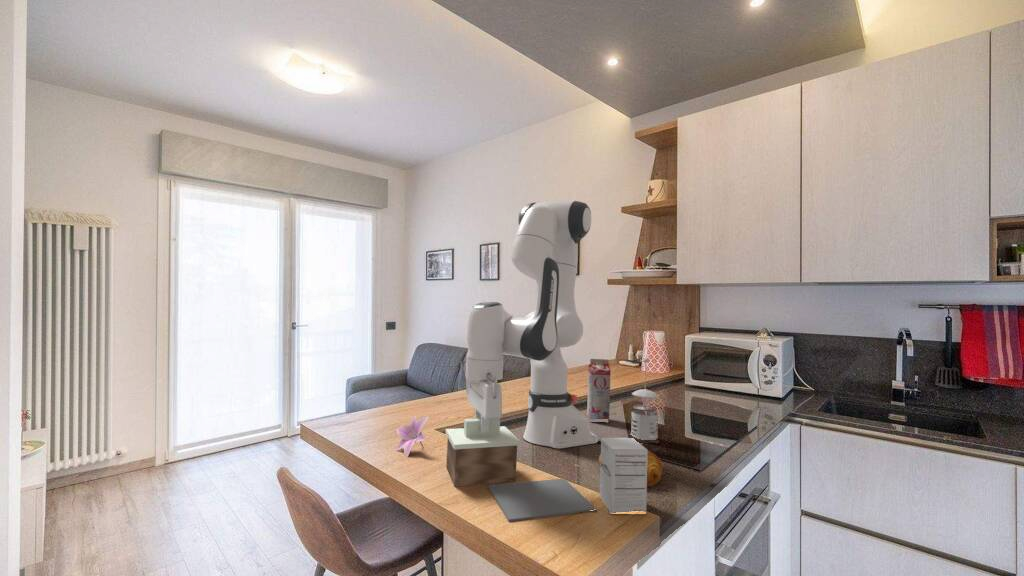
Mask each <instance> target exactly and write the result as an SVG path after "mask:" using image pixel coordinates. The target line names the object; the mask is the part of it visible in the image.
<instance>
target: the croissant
mask: <svg viewBox="0 0 1024 576" xmlns="http://www.w3.org/2000/svg"><path fill="white" fill-rule="evenodd" d="M647 450H648V449H647ZM597 462H598V466H599V468H600V467H601V453H600V454H599V456H598V461H597ZM663 467H664V463H663V461H662V460H661V459H660V457H658V456H657V455H656V454H655V453H653V452H652V451H650V449H649V450H648V461H647V487H652V486H655V485H656V484H657V483H660V481H661V480H662V475H663V474H662V473H664V471H663Z"/></svg>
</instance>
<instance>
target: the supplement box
mask: <svg viewBox="0 0 1024 576" xmlns="http://www.w3.org/2000/svg"><path fill="white" fill-rule="evenodd" d="M600 439H601V441H600V454H601V467H600V466H599V468H600V473H599V478H600V479H599V499H600V498H601V499H602V500H603V501H602V500H601V499H600V500H601V501H602V502H604V503H605V504H604V503H603V504H604V506H605V505H606V506H607V507H606V506H605V507H606V509H607V508H608V509H609V510H608V509H607V510H608V512H609V511H610V512H611V513H616V512H629V511H630V512H631V511H644V512H646V513H647V496H648V495H647V491H648V486H647V461H648V448H646V447H645V446H643V445H642V443H639V442H637V441H636V440H635V439H634V438H628V437H601V438H600ZM610 512H609V513H610Z"/></svg>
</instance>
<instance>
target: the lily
mask: <svg viewBox="0 0 1024 576" xmlns="http://www.w3.org/2000/svg"><path fill="white" fill-rule="evenodd" d="M428 418H429V416H427V415H426V416H424V417H422V418H420V419H418V420H417V415H416V414H415V415H414V416H413V417H412V418H411V421H410V422H409V423H410V424H407V425H401V426H399V427H397V428H396V433H397V435H398V436H399V438H400V439H401V440H400V441H399V443H398V445H397V446H396V449H395V450H396V451H400V450H401V449H402V448H403V452H404V453H403V454H404V456H405V457H407V458H408V456H409V454H410V452H411V451H412V448H413V446H414V443H418V442H419V443H420V445H421V447H422V446H423V447H424V445H423V443H422V441H426V437H425V435H424V433H423V432H422V429H423V427H424V426H425V424H426V422H427V420H428Z"/></svg>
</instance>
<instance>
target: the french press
mask: <svg viewBox="0 0 1024 576" xmlns="http://www.w3.org/2000/svg"><path fill="white" fill-rule="evenodd" d="M642 363H645V366H644V367H645V368H644V371H645V372H644V388H643V389H637V390H634V391H633V392H631V394H632V396H634V397H636V398H640V399H642V403H643V404H635V405H633V406H632V408H633V410H631V423H630V424H631V425H630V427H631V428H630V429H631V430H630V431H631V432H630V435H632V436H633V437H635V438H637V439H641V440H656V439H657V438H659V437H658V436H659V435H658V434H659V433H658V431H659V427H658V426H659V424H658V423H659V414H658V412H656V411H657V410H658V409H657V408H656V407H655V406H651V405H649V404H648V405H646V402H647V403H649V402H650V400H652V399H653V400H655V399H658V398H659V397H660V396H659V395H658V393H656V392H655V391H652V390H649V389H647V387H646V380H647V363H650V360H649V358H643V359H642ZM645 412H646V415H645Z"/></svg>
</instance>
